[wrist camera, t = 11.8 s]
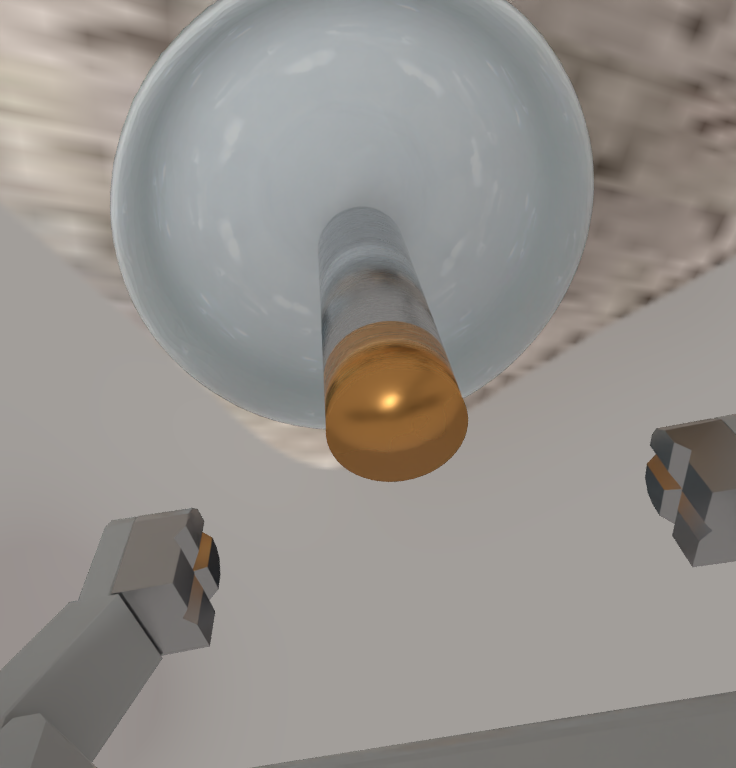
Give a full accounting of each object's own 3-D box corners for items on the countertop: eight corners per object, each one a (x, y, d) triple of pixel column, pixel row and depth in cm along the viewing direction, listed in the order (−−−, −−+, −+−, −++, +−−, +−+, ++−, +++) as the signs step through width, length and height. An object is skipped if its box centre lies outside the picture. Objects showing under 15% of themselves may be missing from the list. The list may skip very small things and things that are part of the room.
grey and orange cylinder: (397, 198, 20) (463, 357, 11) (408, 280, 21) (471, 468, 13) (309, 215, 20) (312, 385, 11) (327, 295, 21) (340, 491, 13)
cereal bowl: (335, 403, 33) (342, 493, 27) (69, 181, 25) (-1, 242, 19) (599, 196, 28) (679, 255, 22) (368, -169, 20) (395, -232, 14)
